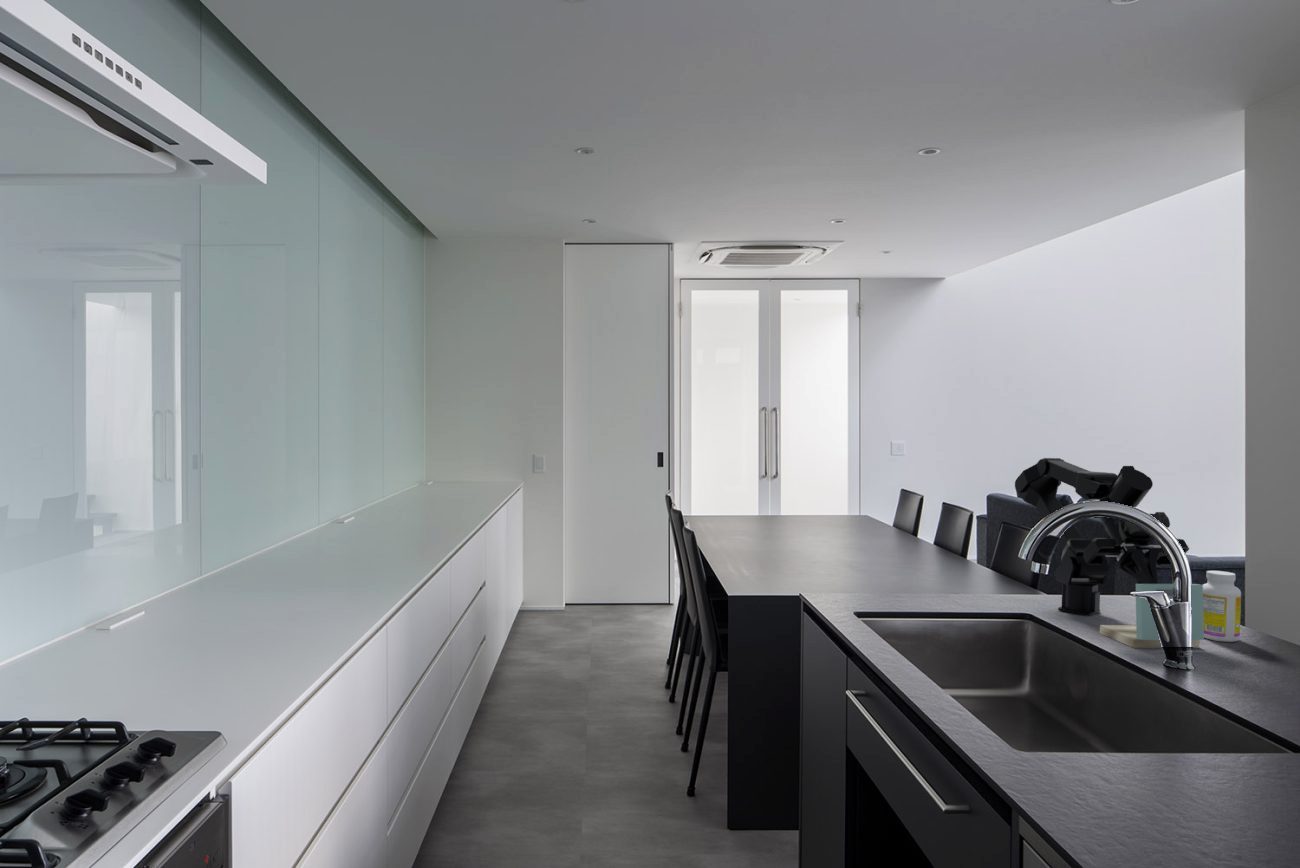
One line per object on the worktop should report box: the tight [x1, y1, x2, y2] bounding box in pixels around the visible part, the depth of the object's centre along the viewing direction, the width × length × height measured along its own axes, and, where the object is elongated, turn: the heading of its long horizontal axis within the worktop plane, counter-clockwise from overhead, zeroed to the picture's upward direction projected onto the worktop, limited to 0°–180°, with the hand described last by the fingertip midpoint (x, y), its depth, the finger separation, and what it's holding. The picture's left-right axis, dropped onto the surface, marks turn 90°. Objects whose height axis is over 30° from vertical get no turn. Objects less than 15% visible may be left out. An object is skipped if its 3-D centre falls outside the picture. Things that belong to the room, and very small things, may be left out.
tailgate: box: [1135, 583, 1205, 641], centre depth 154 cm, size 2×12×10 cm, turn 95°
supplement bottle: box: [1202, 570, 1242, 643], centre depth 162 cm, size 7×7×13 cm
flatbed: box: [1099, 624, 1201, 649], centre depth 160 cm, size 10×13×2 cm
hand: (1154, 588), depth 158 cm, fingers closed
